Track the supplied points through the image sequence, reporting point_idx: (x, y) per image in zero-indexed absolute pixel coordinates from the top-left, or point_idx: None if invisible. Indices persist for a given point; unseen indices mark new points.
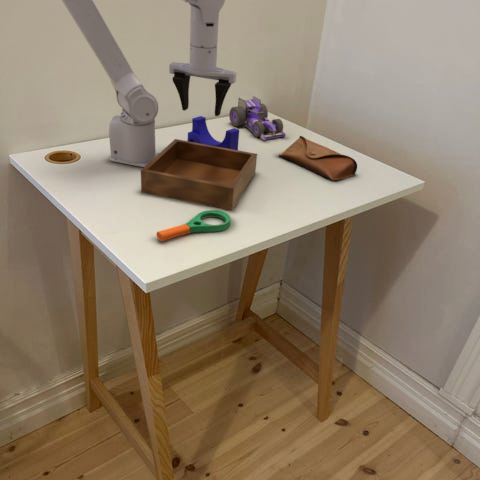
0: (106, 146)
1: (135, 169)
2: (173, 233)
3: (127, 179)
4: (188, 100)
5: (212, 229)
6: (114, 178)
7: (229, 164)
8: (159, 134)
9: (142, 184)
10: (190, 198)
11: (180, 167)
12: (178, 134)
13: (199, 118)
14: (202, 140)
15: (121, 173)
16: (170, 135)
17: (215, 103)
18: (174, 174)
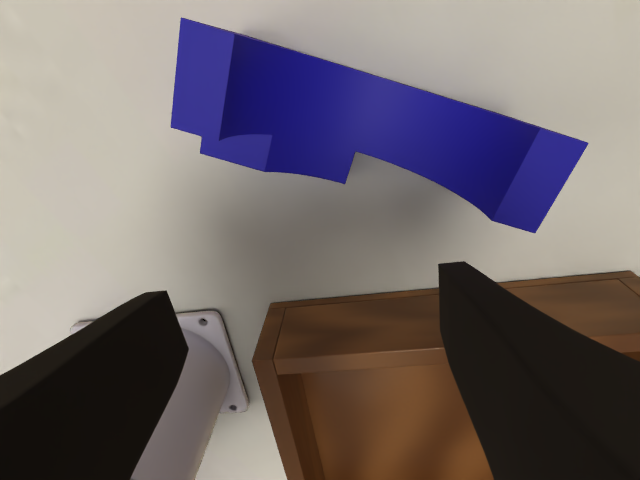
0: (12, 328)
1: (219, 418)
2: None
3: (245, 467)
4: (129, 321)
5: None
6: (215, 474)
7: None
8: (23, 89)
9: None
10: None
11: (339, 377)
12: (86, 17)
13: (209, 92)
14: (303, 153)
15: (207, 449)
16: (69, 64)
17: (480, 442)
18: (349, 422)
